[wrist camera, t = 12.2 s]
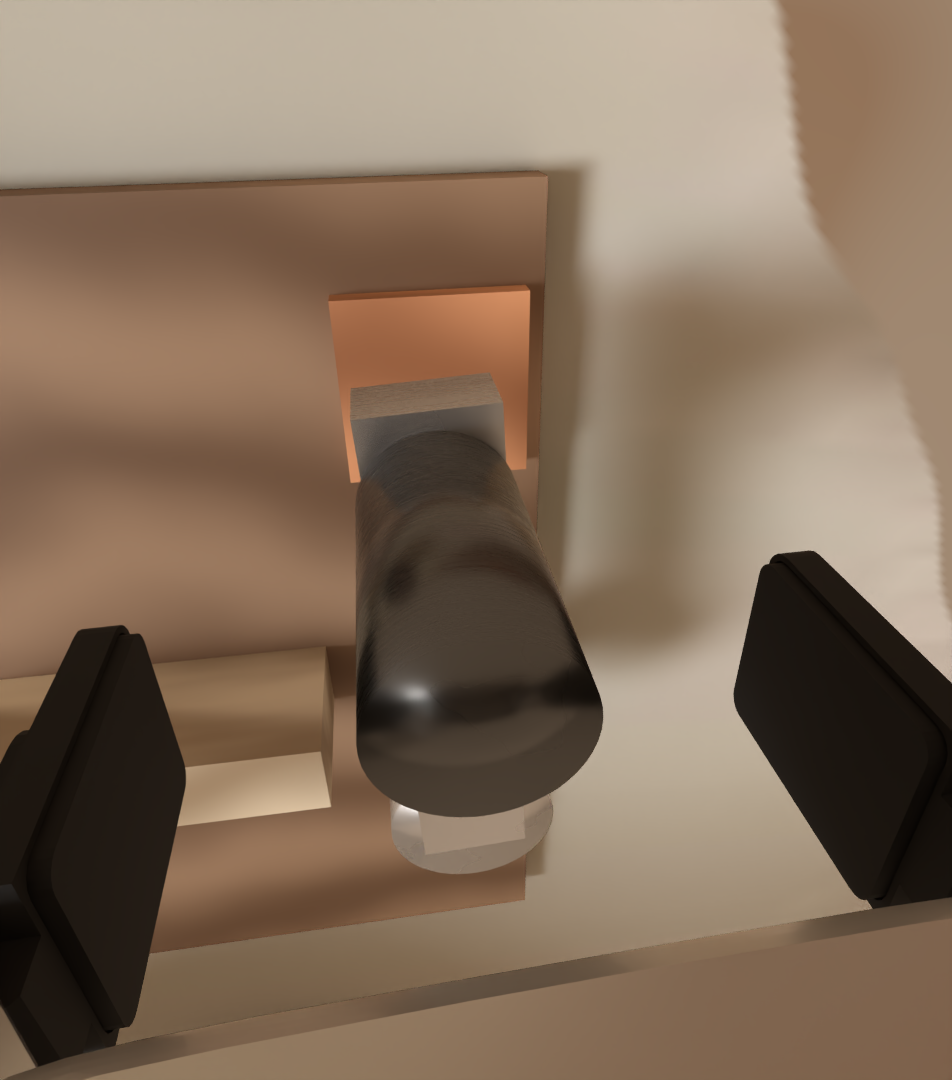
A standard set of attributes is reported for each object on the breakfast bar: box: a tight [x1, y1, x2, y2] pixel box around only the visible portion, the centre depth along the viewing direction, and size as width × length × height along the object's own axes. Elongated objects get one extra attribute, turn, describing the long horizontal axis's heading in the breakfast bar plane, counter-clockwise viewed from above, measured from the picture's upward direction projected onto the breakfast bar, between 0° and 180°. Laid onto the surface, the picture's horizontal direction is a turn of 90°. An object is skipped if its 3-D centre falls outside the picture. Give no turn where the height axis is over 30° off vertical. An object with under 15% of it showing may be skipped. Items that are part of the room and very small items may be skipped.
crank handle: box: [350, 372, 603, 874], centre depth 15 cm, size 14×4×8 cm, turn 4°
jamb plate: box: [0, 171, 548, 954], centre depth 23 cm, size 30×18×6 cm, turn 1°
